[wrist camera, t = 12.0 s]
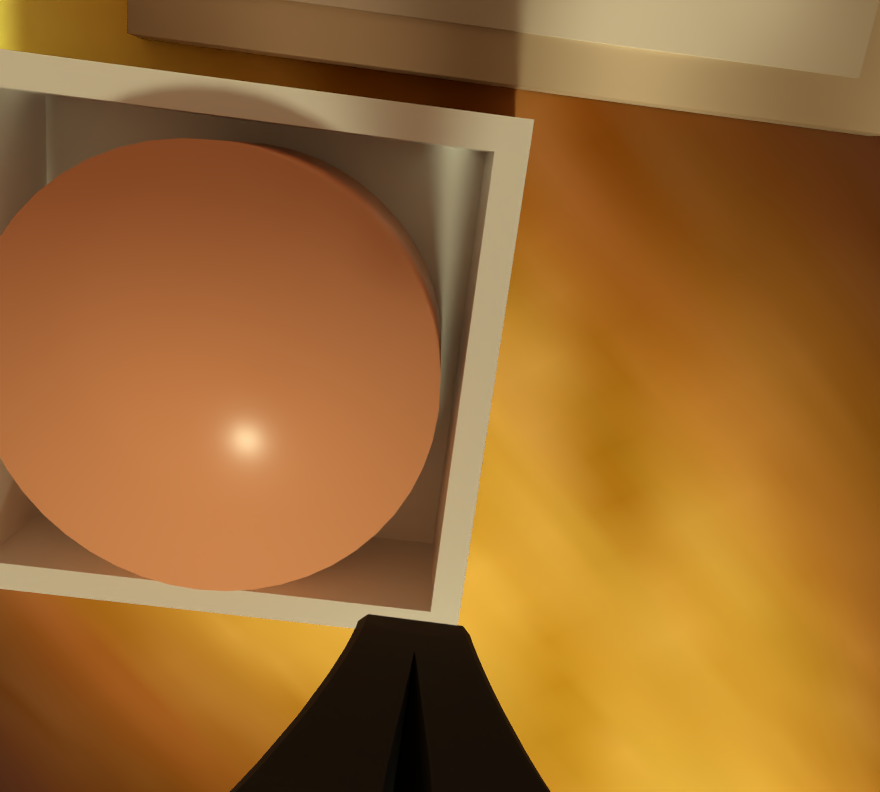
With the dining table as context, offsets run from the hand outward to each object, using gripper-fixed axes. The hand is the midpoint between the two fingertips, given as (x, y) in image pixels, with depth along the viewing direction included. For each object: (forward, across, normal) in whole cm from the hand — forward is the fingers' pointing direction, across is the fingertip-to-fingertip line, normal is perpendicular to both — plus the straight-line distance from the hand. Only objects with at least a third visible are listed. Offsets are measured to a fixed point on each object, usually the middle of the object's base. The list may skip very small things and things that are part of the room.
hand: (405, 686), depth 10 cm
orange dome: (+8, +4, -2) cm, 10 cm away
